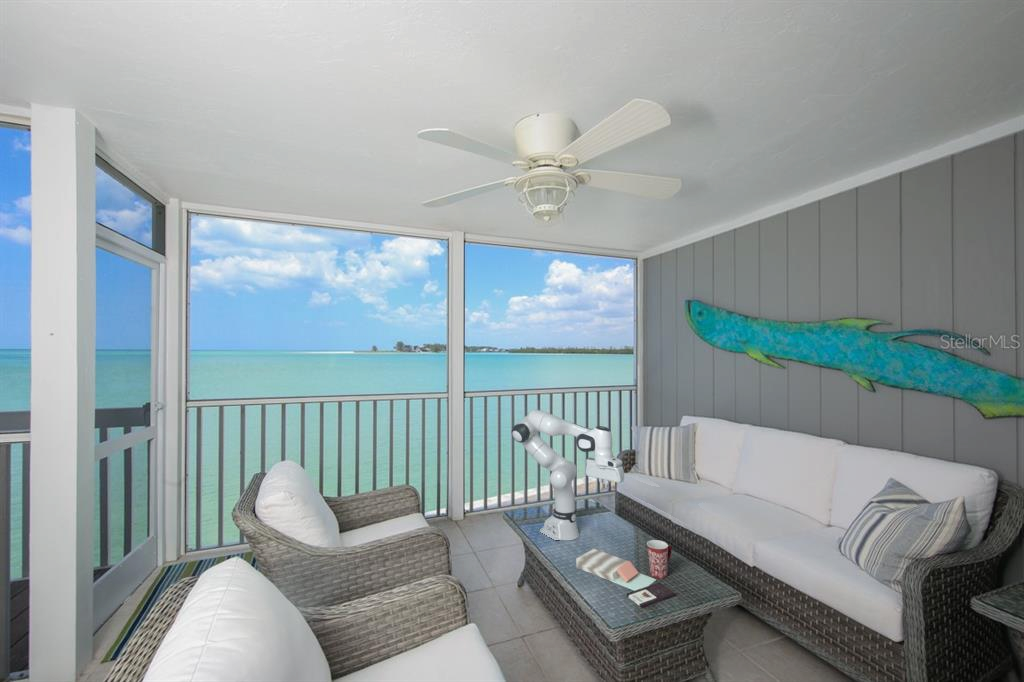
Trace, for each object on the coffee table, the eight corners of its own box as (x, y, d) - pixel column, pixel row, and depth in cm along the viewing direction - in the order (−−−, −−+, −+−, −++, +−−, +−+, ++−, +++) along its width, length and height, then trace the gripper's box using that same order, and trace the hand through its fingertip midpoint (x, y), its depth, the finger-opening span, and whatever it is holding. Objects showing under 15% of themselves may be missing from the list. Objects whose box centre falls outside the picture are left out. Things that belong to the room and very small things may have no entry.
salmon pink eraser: (616, 570, 193) (618, 567, 192) (626, 563, 200) (629, 560, 199) (625, 582, 190) (628, 580, 189) (636, 575, 196) (638, 572, 195)
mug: (658, 581, 191) (657, 550, 191) (643, 572, 199) (642, 542, 199) (679, 574, 196) (678, 543, 197) (664, 565, 204) (663, 536, 205)
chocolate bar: (675, 593, 179) (641, 605, 171) (675, 595, 179) (641, 608, 171) (659, 582, 187) (626, 593, 179) (659, 584, 187) (626, 595, 180)
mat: (611, 581, 192) (611, 580, 192) (628, 569, 202) (627, 568, 202) (640, 593, 182) (640, 592, 182) (656, 580, 192) (656, 579, 192)
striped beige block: (576, 567, 205) (576, 558, 206) (593, 556, 215) (593, 548, 215) (613, 582, 191) (612, 573, 191) (629, 570, 201) (629, 561, 201)
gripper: (582, 458, 220) (583, 485, 219) (618, 464, 205) (619, 494, 205) (590, 455, 224) (591, 482, 224) (625, 461, 209) (626, 490, 209)
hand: (604, 488), depth 214 cm, fingers closed
